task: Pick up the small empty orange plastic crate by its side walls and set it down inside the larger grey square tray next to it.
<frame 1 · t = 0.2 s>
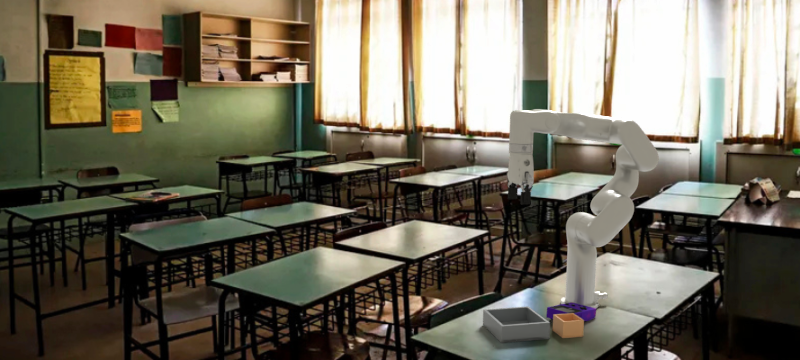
hand: (518, 201, 219), 36 cm above the table, tool pointing down, fingers open, 9 cm apart
grey square tray: (515, 331, 204), on the table
handheld gaming console: (571, 320, 216), on the table
orange crate: (567, 333, 203), on the table
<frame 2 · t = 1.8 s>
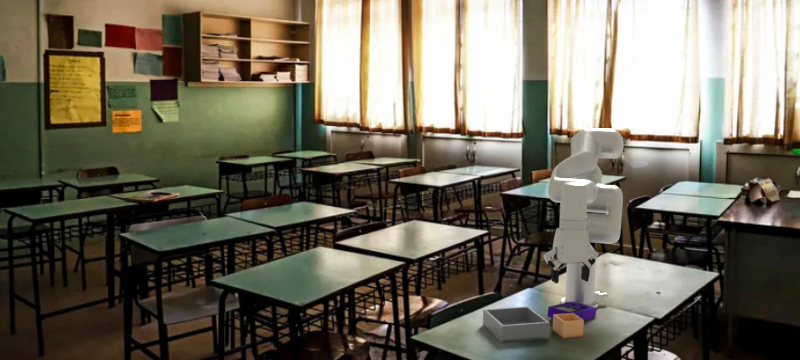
hand: (569, 281, 201), 16 cm above the table, tool pointing down, fingers open, 9 cm apart
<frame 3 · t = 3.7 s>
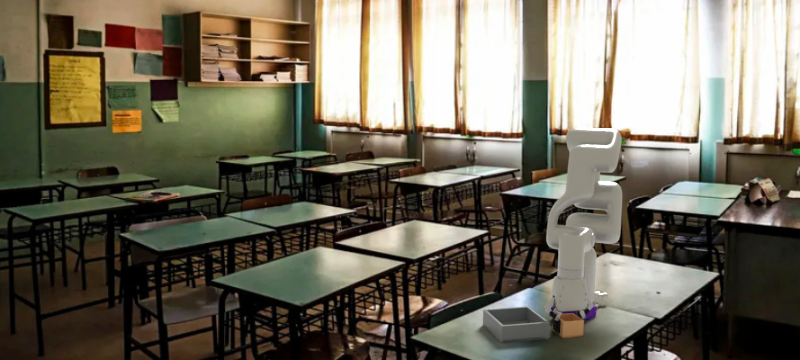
hand: (567, 330, 203), 1 cm above the table, tool pointing down, fingers closed on orange crate, 6 cm apart
orange crate: (567, 333, 203), on the table, touching gripper
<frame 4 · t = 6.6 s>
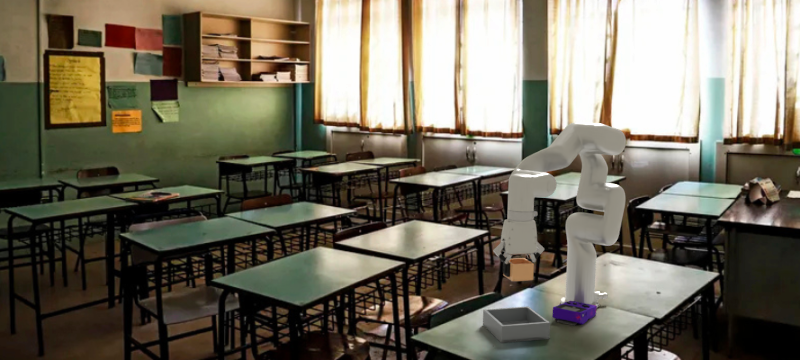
hand: (518, 274, 201), 18 cm above the table, tool pointing down, fingers closed on orange crate, 6 cm apart
orange crate: (518, 277, 201), point 17 cm above the table, touching gripper
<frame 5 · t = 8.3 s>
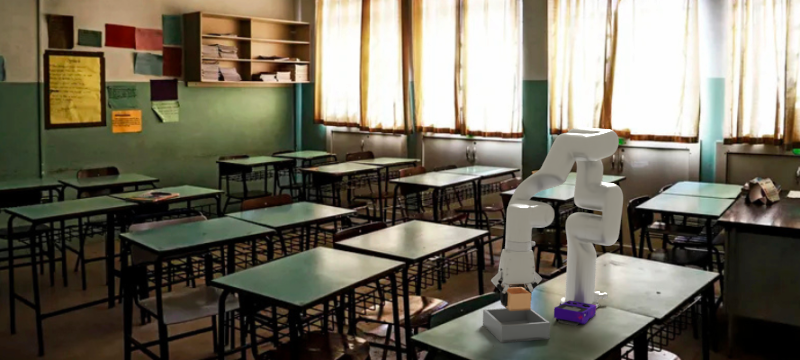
hand: (515, 303, 202), 9 cm above the table, tool pointing down, fingers closed on orange crate, 6 cm apart
orange crate: (515, 306, 202), point 8 cm above the table, touching gripper
when the fingers open (3 cm above the table, at t = 9.8 s): orange crate drops 2 cm, resting on grey square tray.
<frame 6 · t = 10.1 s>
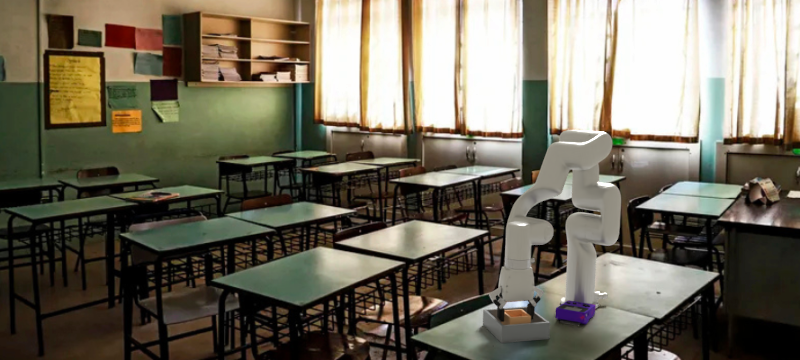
hand: (515, 319, 203), 4 cm above the table, tool pointing down, fingers open, 9 cm apart
orange crate: (515, 329, 204), point 1 cm above the table, touching grey square tray
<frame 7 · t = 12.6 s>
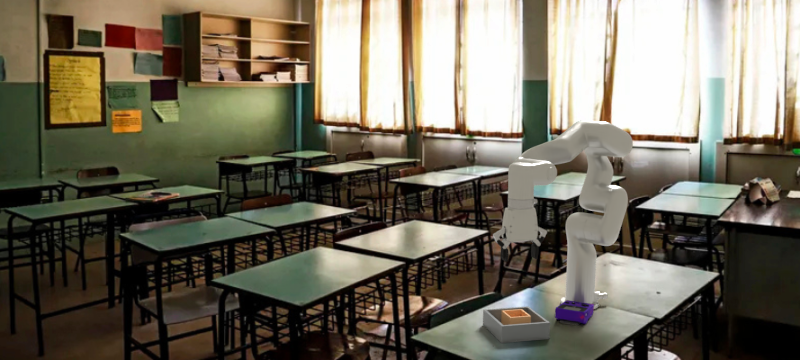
hand: (519, 259, 205), 21 cm above the table, tool pointing down, fingers open, 9 cm apart
handheld gaming console: (574, 318, 218), on the table, touching arm
everything else where it was.
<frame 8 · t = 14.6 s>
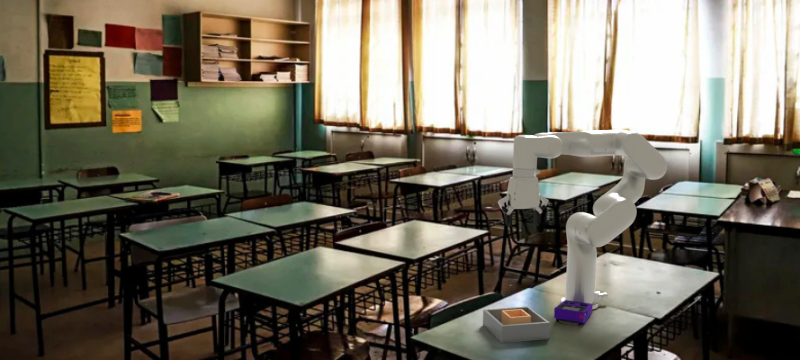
hand: (522, 225, 221), 28 cm above the table, tool pointing down, fingers open, 9 cm apart
handheld gaming console: (573, 318, 218), on the table
everything else where it was.
at the end: orange crate inside the target area on the grey square tray (0.1 cm from its centre), point 0.8 cm above the grey square tray's base; orange crate tilted 0°; the gripper is holding nothing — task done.
